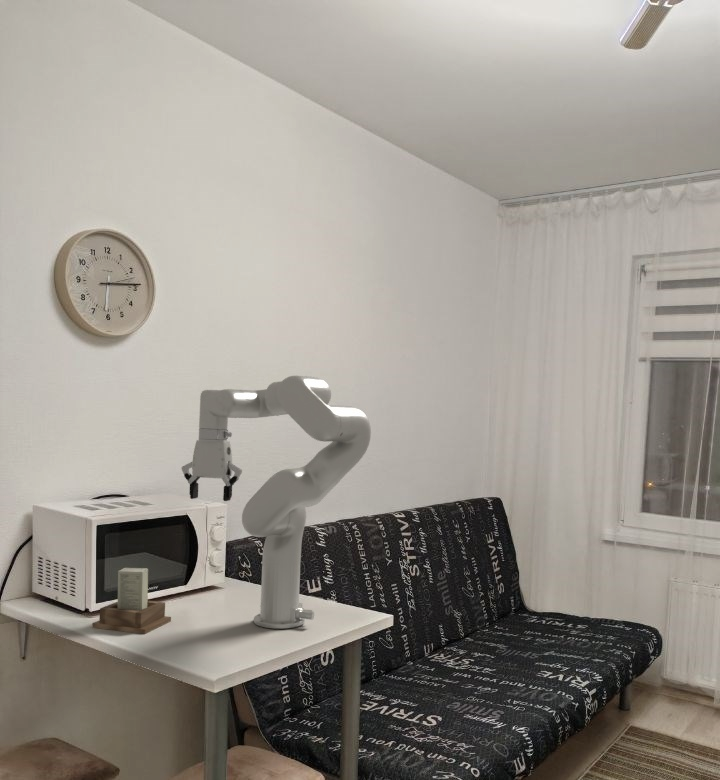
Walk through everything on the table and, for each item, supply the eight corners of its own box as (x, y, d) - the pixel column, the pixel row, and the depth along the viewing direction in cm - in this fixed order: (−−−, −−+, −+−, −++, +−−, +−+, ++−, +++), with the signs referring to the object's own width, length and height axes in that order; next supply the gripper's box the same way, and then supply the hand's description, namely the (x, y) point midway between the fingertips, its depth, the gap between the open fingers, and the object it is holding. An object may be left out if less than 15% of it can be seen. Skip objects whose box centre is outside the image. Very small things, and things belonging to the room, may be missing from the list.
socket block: (170, 621, 191) (171, 602, 191) (145, 633, 179) (145, 614, 179) (120, 615, 194) (121, 597, 195) (92, 627, 183) (93, 608, 183)
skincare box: (147, 618, 189) (149, 568, 189) (141, 623, 184) (143, 571, 185) (122, 616, 189) (124, 566, 190) (115, 621, 185) (117, 570, 185)
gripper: (248, 436, 210) (245, 500, 209) (190, 434, 214) (187, 496, 214) (236, 437, 202) (234, 503, 202) (177, 434, 207) (174, 498, 206)
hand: (210, 499), depth 208 cm, fingers open, 9 cm apart
